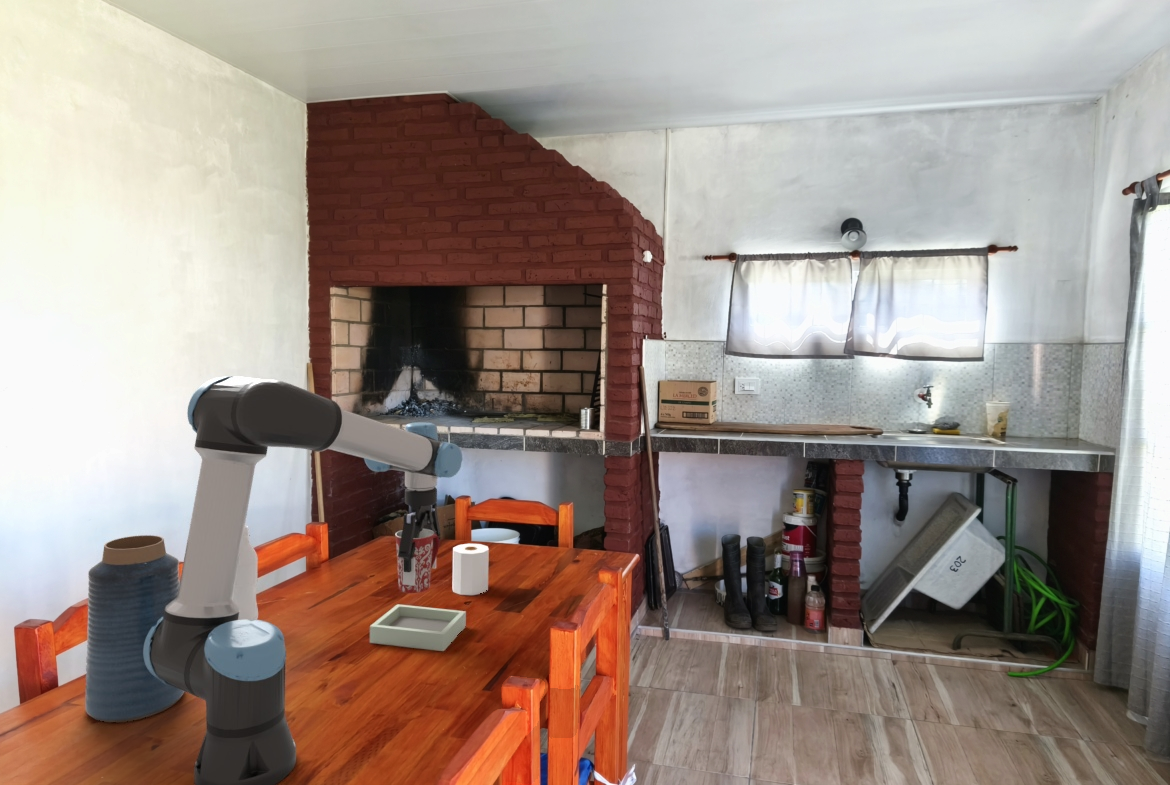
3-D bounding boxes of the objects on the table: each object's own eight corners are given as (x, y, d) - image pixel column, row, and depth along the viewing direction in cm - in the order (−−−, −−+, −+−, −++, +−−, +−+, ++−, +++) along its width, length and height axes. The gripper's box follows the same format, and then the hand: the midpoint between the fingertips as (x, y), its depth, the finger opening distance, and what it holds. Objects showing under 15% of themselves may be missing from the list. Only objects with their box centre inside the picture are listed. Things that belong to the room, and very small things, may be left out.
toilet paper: (482, 597, 198) (482, 554, 197) (446, 593, 200) (447, 551, 199) (492, 585, 208) (493, 544, 207) (458, 582, 210) (459, 542, 209)
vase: (70, 730, 126) (66, 557, 124) (104, 686, 142) (101, 532, 140) (172, 719, 131) (170, 552, 129) (194, 678, 147) (193, 528, 144)
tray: (443, 651, 163) (443, 634, 162) (369, 642, 166) (369, 626, 166) (465, 626, 177) (465, 611, 177) (397, 619, 180) (397, 604, 180)
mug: (414, 597, 163) (415, 540, 162) (386, 589, 167) (387, 533, 167) (451, 583, 174) (452, 528, 173) (424, 575, 178) (425, 523, 177)
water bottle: (218, 629, 171) (218, 528, 169) (245, 619, 177) (244, 521, 176) (238, 636, 168) (237, 532, 166) (264, 625, 174) (264, 525, 172)
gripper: (414, 499, 156) (413, 594, 158) (454, 478, 180) (453, 562, 182) (382, 496, 158) (382, 591, 159) (426, 477, 182) (425, 559, 183)
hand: (420, 576), depth 171 cm, fingers closed on mug, 12 cm apart
